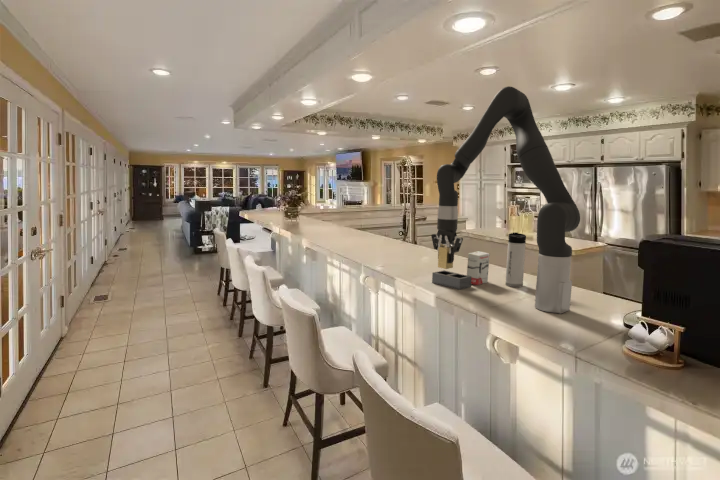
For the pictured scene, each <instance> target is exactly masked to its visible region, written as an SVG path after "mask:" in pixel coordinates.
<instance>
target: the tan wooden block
mask: <svg viewBox="0 0 720 480" xmlns="http://www.w3.org/2000/svg"><path fill="white" fill-rule="evenodd" d="M451 250H452V248H451ZM448 254H449V252H448V248H447V245H445V246H442V247H439V255H438V254H437V267H438V268H441V269H443V270H449V269H454V268H453V267H454V262H453V263H448Z"/></svg>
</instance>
